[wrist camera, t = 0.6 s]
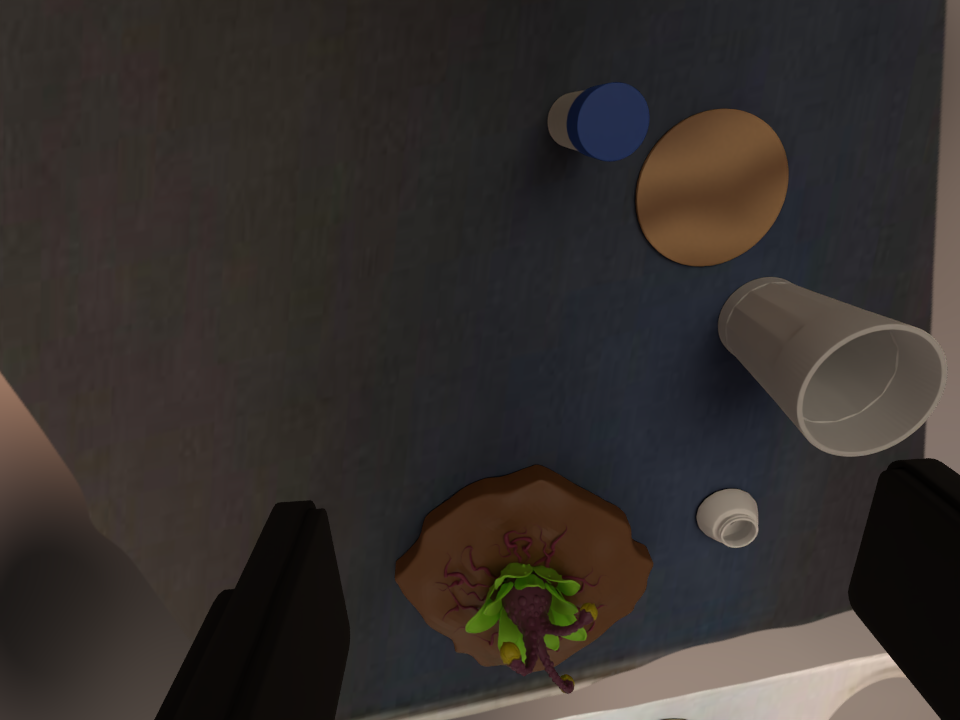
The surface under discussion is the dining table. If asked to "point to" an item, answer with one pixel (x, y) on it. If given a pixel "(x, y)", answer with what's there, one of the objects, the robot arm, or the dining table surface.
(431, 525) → the plant
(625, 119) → the marker
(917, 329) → the cup
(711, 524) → the white jar
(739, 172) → the coaster
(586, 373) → the dining table surface
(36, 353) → the dining table surface
